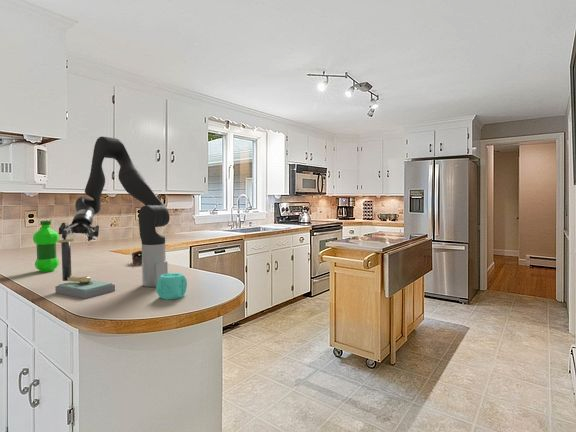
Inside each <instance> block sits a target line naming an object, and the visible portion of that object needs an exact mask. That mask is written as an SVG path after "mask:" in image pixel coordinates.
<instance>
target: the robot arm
mask: <svg viewBox="0 0 576 432" xmlns="http://www.w3.org/2000/svg"><path fill="white" fill-rule="evenodd" d="M92 153H93V154H92V160H91V166H90V173H89V177H88V179H87V182H86V185H85V188H84V194H86V195H87V196H88V197H86V196H80V197H78V198H77V199H76V202H75V211H76V212H75V214H74V216H73V219H72V220H71V223H70V224H66V223H65V222H61V224H60V226H59V227H58V235H59V236H60V235H61V239H62V240H65V239H67V237H68V235H73V234H74V235H75V234H83V235H86V237H88V238H87V241H88V242H90V241H92V240H93V238H94V237H95V238H98V237H99V232H100V231H99V230H100V225H98V224H97V225H95V226H93V224H94V217H95V215H96V214H98V213H99V212H100V211H101V206H102V205H101V197H102V193H103V190H104V188H105V185H106V176H105V173H104V168H103V162H104V159H105V158H107V159H108V158H109V159H114V160H115V161H116V162H117V163H118V165H119V171H118V177H117V178H118V181H119V182H120V184H121V185H122V188H124V191H126V192H127V193H128V194H129V195H130V196H132V197H133V198H134V199H136V200H138V201H139V202H140V203H142V204H143V206H141V207H140V209H139V212H138V229H139V238H140V240H141V251H142V262H141V270H142V273H141V274H142V275H141V276H142V278H141V279H142V286H143V287H146V288H150V287H151V288H152V287H154V288H156V284H157V281H158V279H159V277H160V276H161V275H163V274H168V273H169V271H168V268H169V266H168V261H166V256H167V255H166V237H165V236H164V235H163V234H159V233H158V232H157V229H156V228H160V227H161V228H162V227H165V226H167V225H168V224H169V222H170V212H169V210H168V208H167V207H166V206H165V204H164V203H163V202H162V201H161V199H159V198H158V196H157V195H156V194H155V192H154V191H153V190H152V188H151V186H150V185H149V184H148V182H147V181H146V179H145V178H144V176H143V174H142V173H141V172H140V171H139V169H138V167H137V166H136V164H135V163H134V161H133V159H132V158H131V156H130V154H129V152H128V150H127V147H126V146H125V144H124V143H123V141H122V140H120V139H118V138H114V137H108V136H99V137H97V138H96V141H95V143H94V147H93V152H92Z"/></svg>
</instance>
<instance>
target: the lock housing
mask: <svg viewBox="0 0 576 432" xmlns="http://www.w3.org/2000/svg"><path fill="white" fill-rule="evenodd" d="M115 291H116V284H113V282H106V281H101V280H93V279H91V282H90V283H85V284H81V283H80V282H74V281H68V282H65V283H59V284H57V285H56V286H55V293H56V294H60V295H64V296H71V297H75V298H81V299H89V298H93V297H97V296H100V295H104V294H107V293H111V292H115Z"/></svg>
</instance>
